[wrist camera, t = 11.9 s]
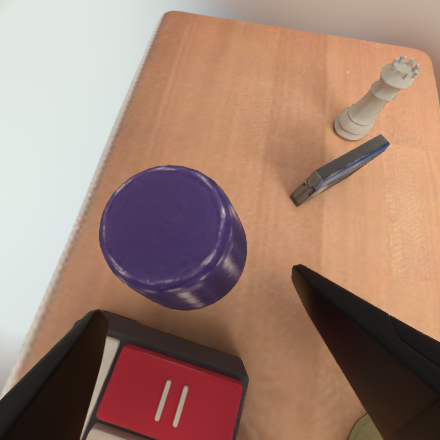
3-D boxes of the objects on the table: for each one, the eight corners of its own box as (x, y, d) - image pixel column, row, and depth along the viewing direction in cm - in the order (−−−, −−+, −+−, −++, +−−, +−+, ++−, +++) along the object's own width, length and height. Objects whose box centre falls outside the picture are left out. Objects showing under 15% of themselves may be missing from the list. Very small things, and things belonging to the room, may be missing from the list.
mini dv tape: (296, 207, 22) (325, 184, 16) (289, 196, 22) (314, 170, 16) (348, 176, 23) (392, 145, 17) (340, 167, 23) (381, 133, 17)
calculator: (207, 590, 11) (-23, 509, 11) (207, 501, 15) (40, 443, 15) (252, 382, 14) (68, 321, 14) (242, 355, 18) (100, 308, 18)
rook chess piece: (347, 147, 24) (408, 89, 16) (325, 124, 25) (373, 59, 17) (371, 133, 25) (441, 71, 17) (349, 111, 26) (406, 43, 18)
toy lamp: (179, 250, 20) (29, 171, 4) (218, 234, 21) (221, 108, 5) (195, 292, 19) (71, 420, 3) (235, 274, 19) (322, 293, 3)
